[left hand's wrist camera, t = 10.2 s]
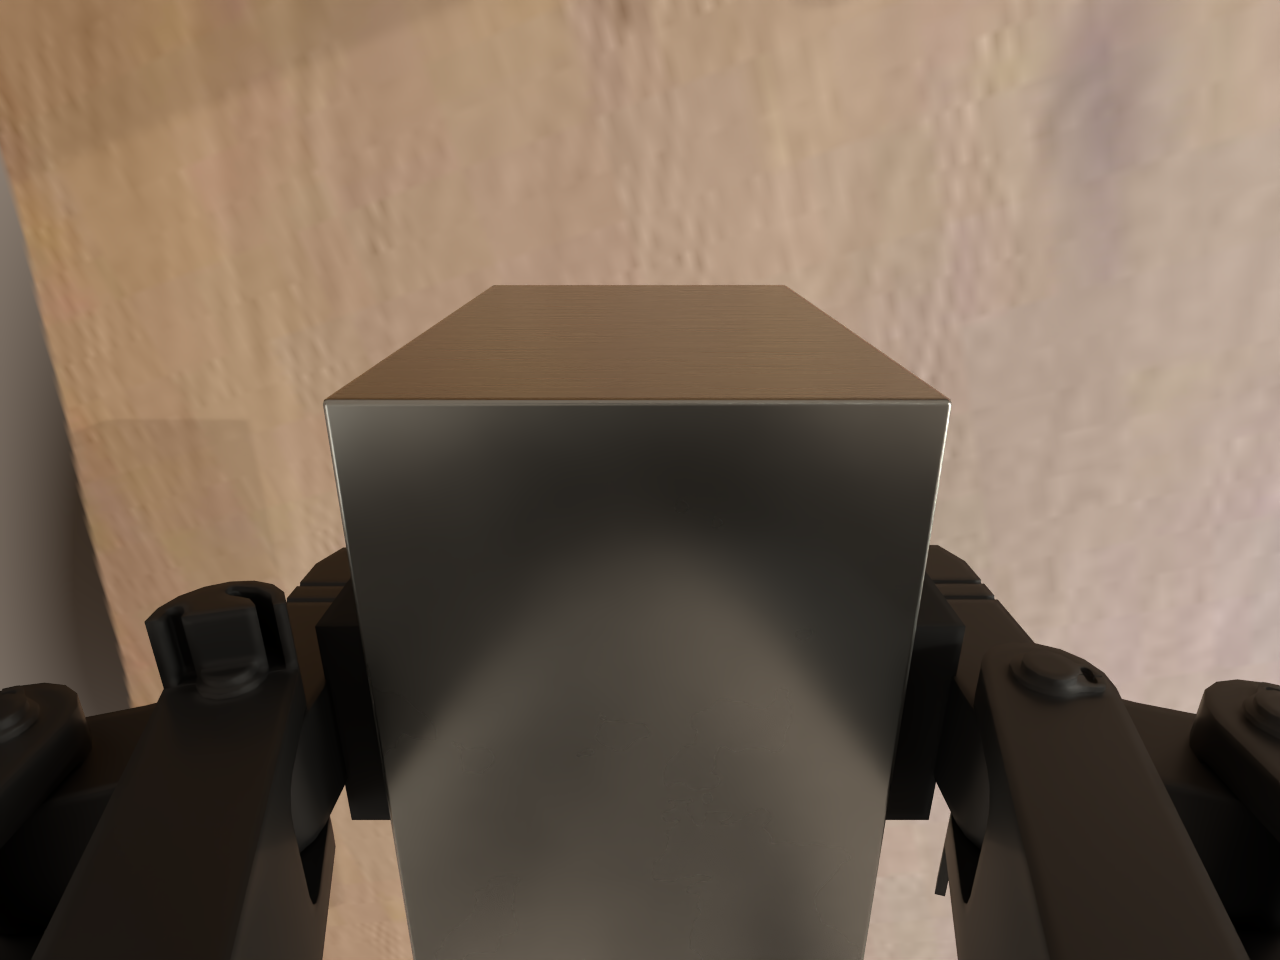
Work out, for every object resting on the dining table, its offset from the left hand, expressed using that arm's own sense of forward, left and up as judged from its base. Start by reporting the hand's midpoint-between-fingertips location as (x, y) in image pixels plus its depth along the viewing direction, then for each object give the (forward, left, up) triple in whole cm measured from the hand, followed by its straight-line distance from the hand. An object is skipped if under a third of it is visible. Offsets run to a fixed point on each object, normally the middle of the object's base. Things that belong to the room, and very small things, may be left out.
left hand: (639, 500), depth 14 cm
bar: (+9, +2, -1) cm, 9 cm away
